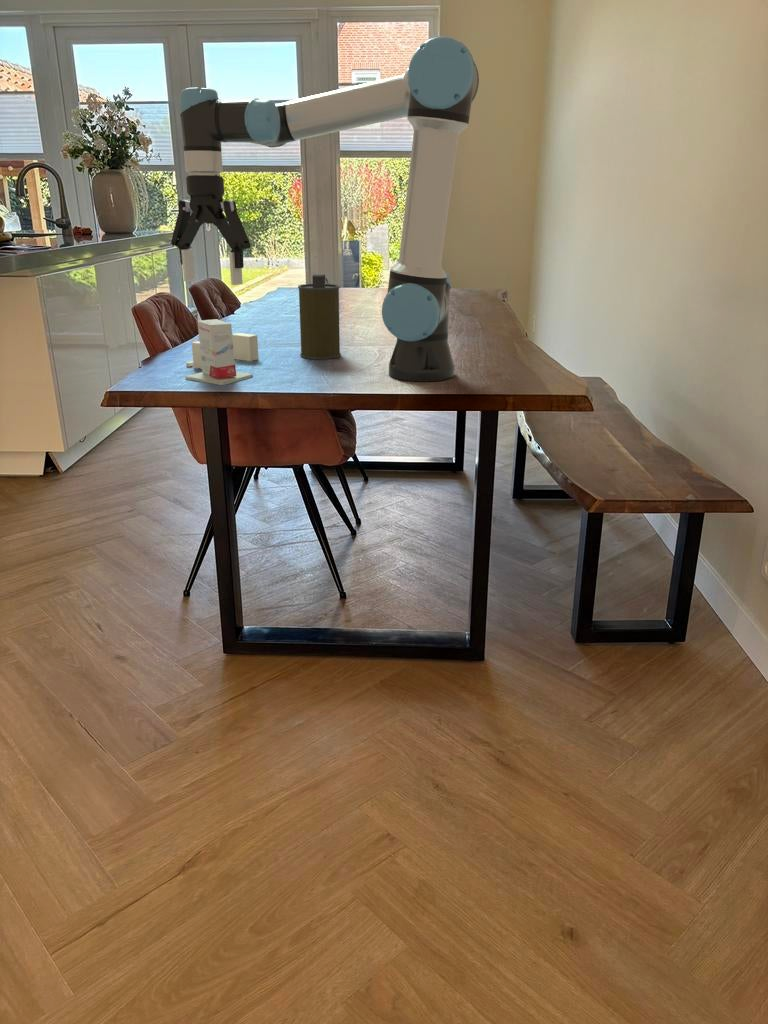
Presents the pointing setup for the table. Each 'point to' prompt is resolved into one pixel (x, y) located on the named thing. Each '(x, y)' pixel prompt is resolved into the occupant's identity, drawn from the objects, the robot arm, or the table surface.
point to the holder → (242, 346)
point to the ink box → (216, 348)
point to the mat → (223, 381)
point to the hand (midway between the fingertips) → (213, 282)
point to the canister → (319, 319)
